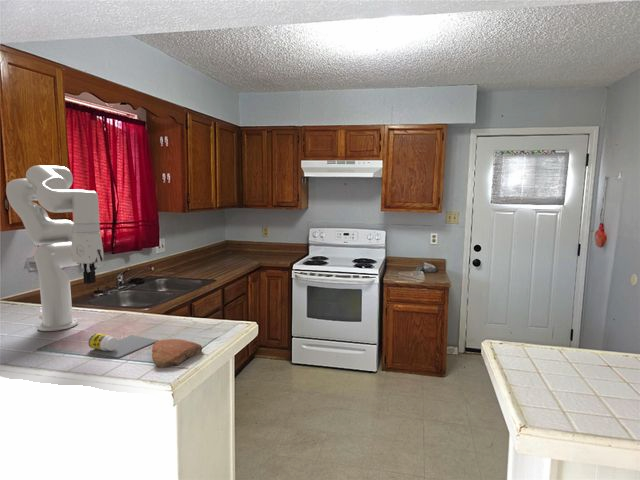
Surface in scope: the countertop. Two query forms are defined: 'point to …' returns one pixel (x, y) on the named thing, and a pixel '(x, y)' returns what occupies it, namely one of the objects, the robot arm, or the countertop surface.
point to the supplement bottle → (102, 342)
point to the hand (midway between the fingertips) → (89, 282)
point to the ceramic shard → (173, 351)
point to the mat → (126, 346)
